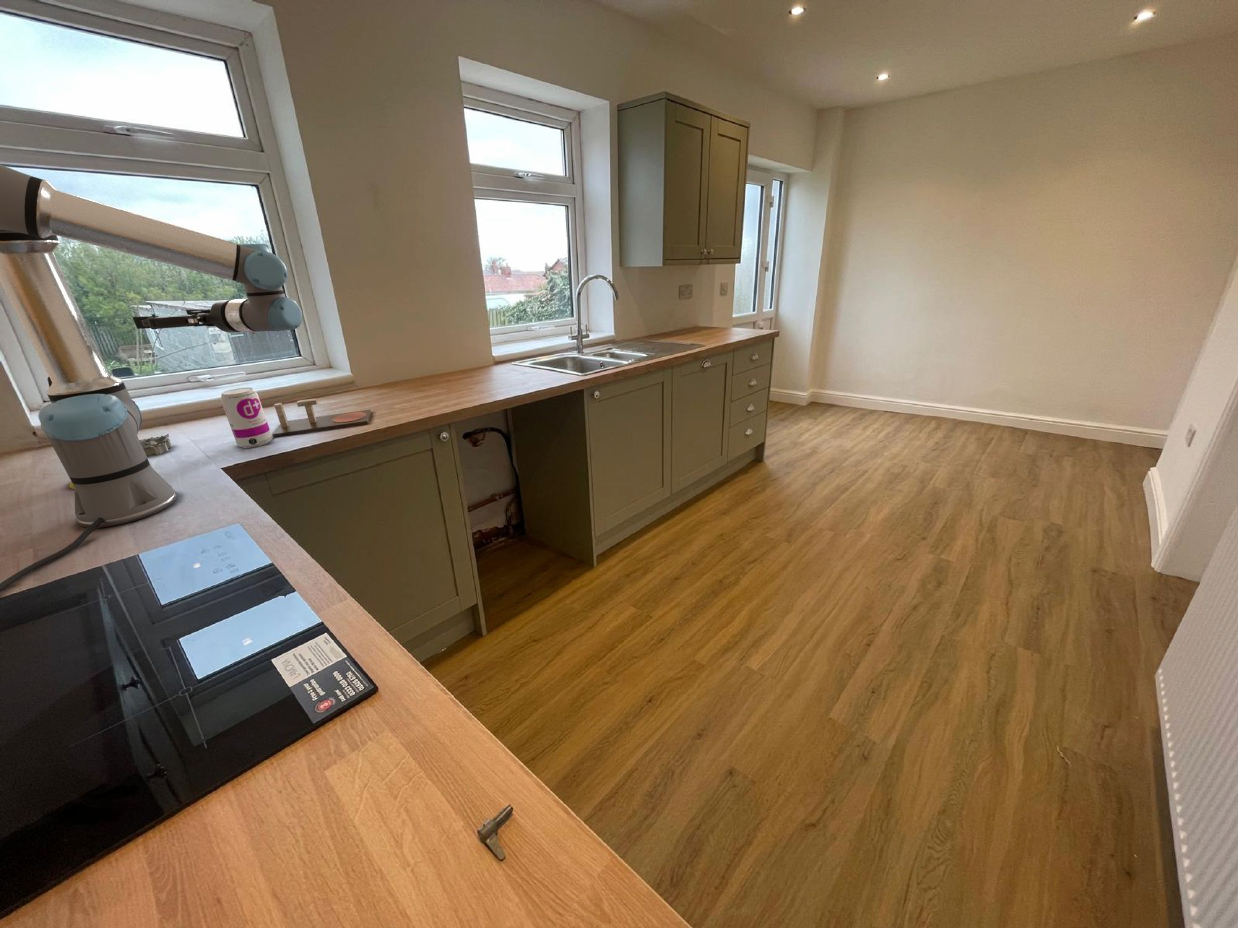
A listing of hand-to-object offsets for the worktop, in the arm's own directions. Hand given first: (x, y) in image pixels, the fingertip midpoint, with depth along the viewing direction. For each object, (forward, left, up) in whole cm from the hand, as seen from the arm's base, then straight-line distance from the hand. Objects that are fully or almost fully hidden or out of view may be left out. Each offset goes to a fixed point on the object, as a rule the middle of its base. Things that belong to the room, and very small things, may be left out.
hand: (163, 318), depth 125 cm
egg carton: (+3, +16, -34) cm, 38 cm away
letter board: (+7, -27, -34) cm, 44 cm away
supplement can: (-3, -11, -34) cm, 36 cm away
